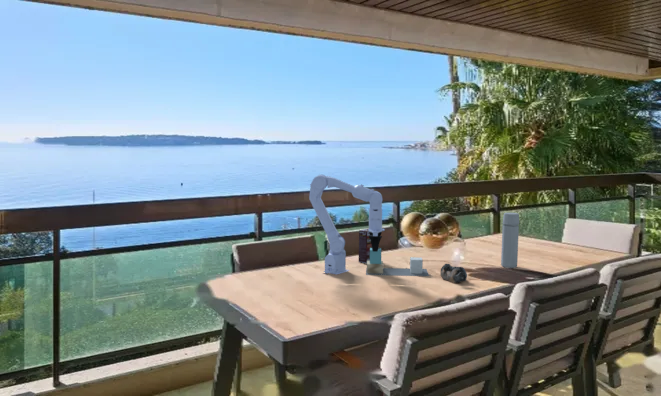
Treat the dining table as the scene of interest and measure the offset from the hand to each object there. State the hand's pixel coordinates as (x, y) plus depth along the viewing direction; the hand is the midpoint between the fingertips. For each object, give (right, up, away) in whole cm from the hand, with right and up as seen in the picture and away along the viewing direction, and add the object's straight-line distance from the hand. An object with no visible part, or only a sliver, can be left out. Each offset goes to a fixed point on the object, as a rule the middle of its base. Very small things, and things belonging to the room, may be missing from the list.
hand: (375, 249), depth 222 cm
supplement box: (-2, -9, +21) cm, 23 cm away
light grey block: (+18, -10, 0) cm, 20 cm away
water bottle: (+63, -9, +13) cm, 65 cm away
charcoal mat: (+10, -10, 0) cm, 14 cm away
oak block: (0, -10, +1) cm, 10 cm away
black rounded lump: (+30, -12, -14) cm, 36 cm away
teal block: (0, -6, +1) cm, 6 cm away
